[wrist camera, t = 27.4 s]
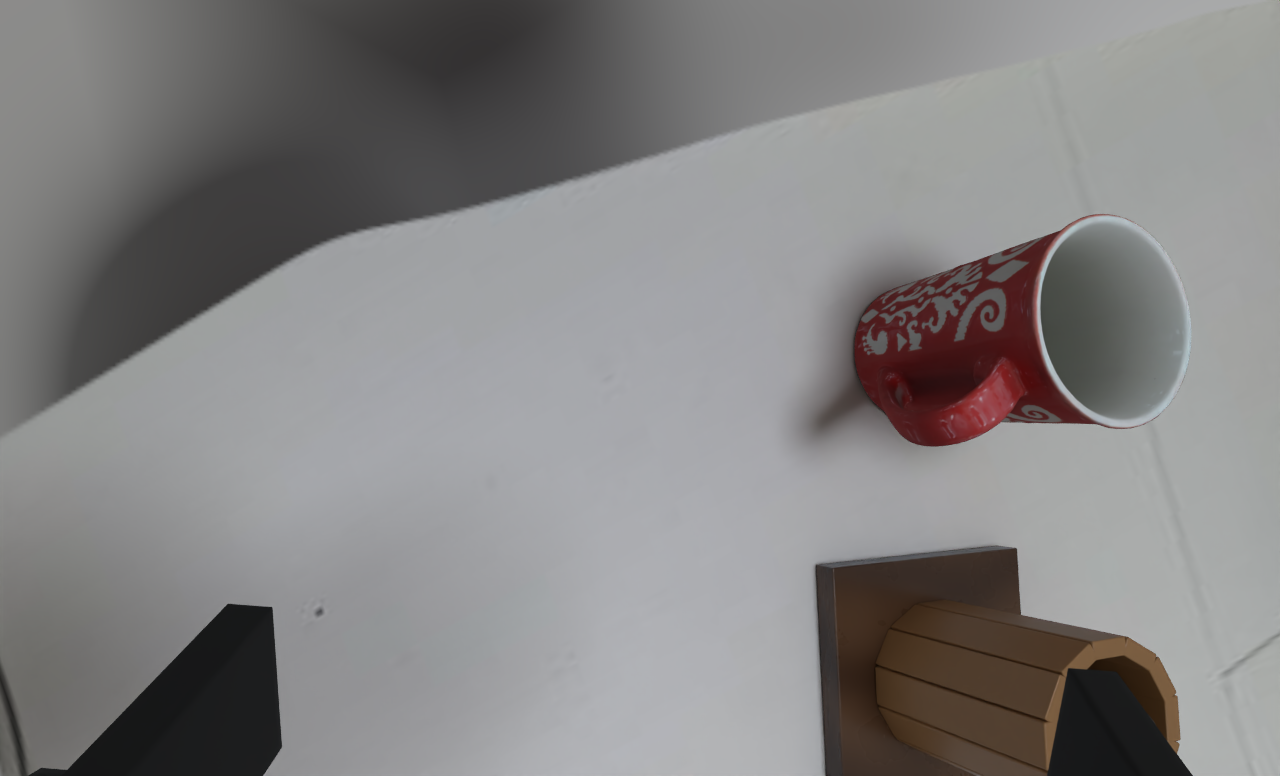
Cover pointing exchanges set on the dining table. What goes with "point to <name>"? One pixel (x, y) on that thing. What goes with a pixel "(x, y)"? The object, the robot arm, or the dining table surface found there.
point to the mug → (1032, 337)
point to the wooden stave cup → (1000, 684)
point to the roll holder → (855, 631)
